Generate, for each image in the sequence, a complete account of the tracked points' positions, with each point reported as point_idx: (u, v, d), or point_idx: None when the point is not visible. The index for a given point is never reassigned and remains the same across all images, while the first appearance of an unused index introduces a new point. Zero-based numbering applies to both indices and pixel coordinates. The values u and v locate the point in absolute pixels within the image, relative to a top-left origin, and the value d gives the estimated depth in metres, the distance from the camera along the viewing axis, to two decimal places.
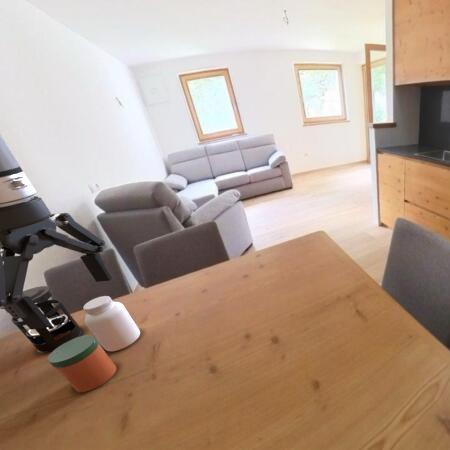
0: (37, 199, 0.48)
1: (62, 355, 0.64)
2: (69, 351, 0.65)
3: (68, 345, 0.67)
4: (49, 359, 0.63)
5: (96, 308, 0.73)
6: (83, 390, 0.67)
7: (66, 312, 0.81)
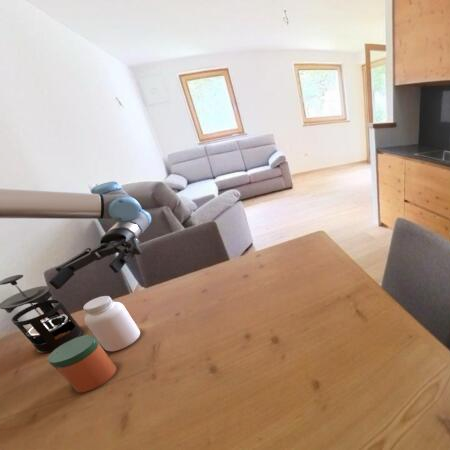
0: None
1: (62, 355, 0.64)
2: (69, 351, 0.65)
3: (68, 345, 0.67)
4: (49, 359, 0.63)
5: (96, 308, 0.73)
6: (83, 390, 0.67)
7: (66, 312, 0.81)
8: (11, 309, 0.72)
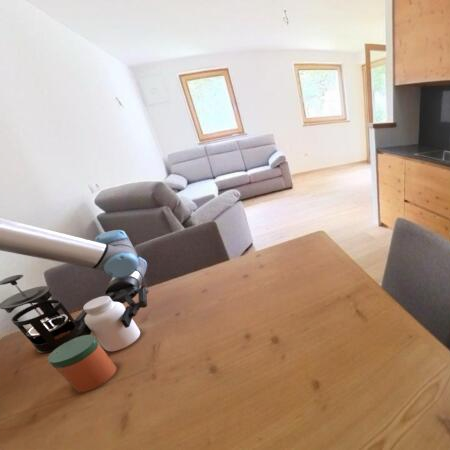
0: None
1: (62, 355, 0.64)
2: (69, 351, 0.65)
3: (68, 345, 0.67)
4: (49, 359, 0.63)
5: (96, 308, 0.73)
6: (83, 390, 0.67)
7: (66, 312, 0.81)
8: (11, 309, 0.72)
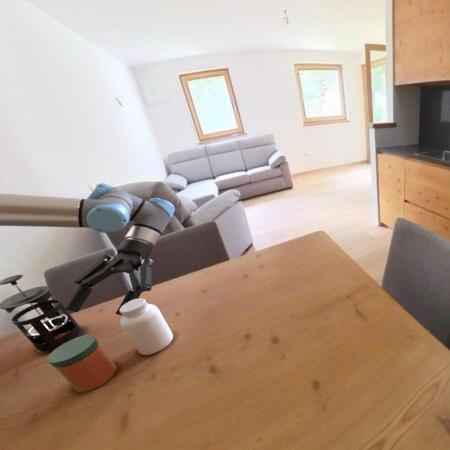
0: None
1: (62, 355, 0.64)
2: (69, 351, 0.65)
3: (68, 345, 0.67)
4: (49, 359, 0.63)
5: (133, 311, 0.72)
6: (83, 390, 0.67)
7: (66, 312, 0.81)
8: (11, 309, 0.72)
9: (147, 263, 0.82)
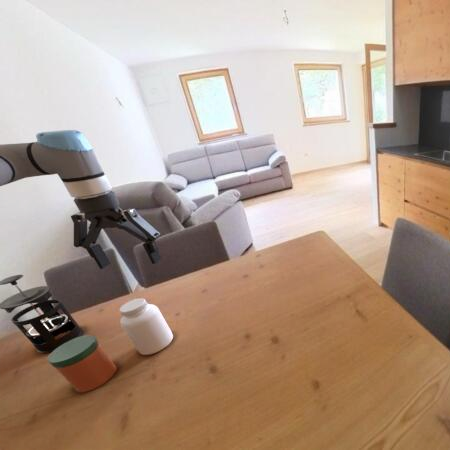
0: None
1: (62, 355, 0.64)
2: (69, 351, 0.65)
3: (68, 345, 0.67)
4: (49, 359, 0.63)
5: (133, 311, 0.72)
6: (83, 390, 0.67)
7: (66, 312, 0.81)
8: (11, 309, 0.72)
9: (131, 216, 0.73)
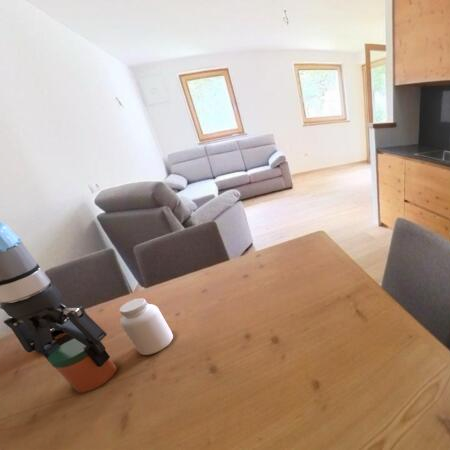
0: None
1: (62, 355, 0.64)
2: (69, 351, 0.65)
3: (68, 345, 0.67)
4: (49, 359, 0.63)
5: (133, 311, 0.72)
6: (83, 390, 0.67)
7: None
8: None
9: (76, 318, 0.62)
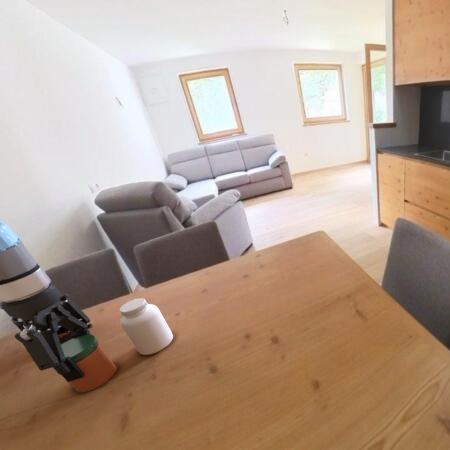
0: (0, 302, 0.56)
1: (82, 345, 0.67)
2: (78, 344, 0.67)
3: None
4: (81, 350, 0.65)
5: (133, 311, 0.72)
6: (83, 390, 0.67)
7: None
8: None
9: None
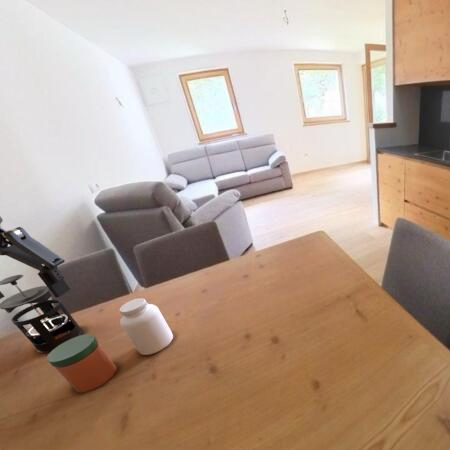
0: None
1: (80, 340, 0.68)
2: (74, 343, 0.67)
3: (75, 349, 0.65)
4: (92, 336, 0.69)
5: (133, 311, 0.72)
6: (83, 390, 0.67)
7: (66, 312, 0.81)
8: (11, 309, 0.72)
9: None
